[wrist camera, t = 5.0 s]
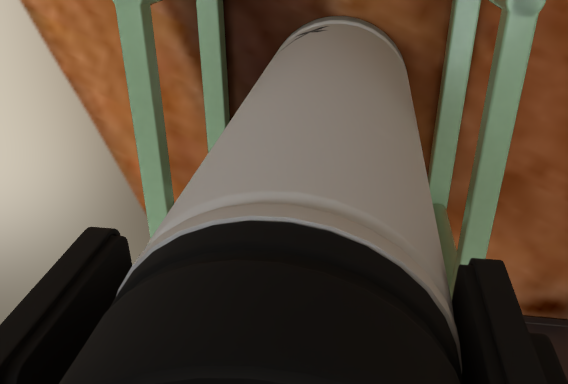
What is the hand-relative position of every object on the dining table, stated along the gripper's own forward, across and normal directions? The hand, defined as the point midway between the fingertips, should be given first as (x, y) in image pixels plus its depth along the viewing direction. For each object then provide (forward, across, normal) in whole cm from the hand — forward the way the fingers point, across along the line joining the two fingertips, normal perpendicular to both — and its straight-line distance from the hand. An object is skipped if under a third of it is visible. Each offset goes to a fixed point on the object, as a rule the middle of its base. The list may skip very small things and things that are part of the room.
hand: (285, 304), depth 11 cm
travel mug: (+15, 0, 0) cm, 15 cm away
